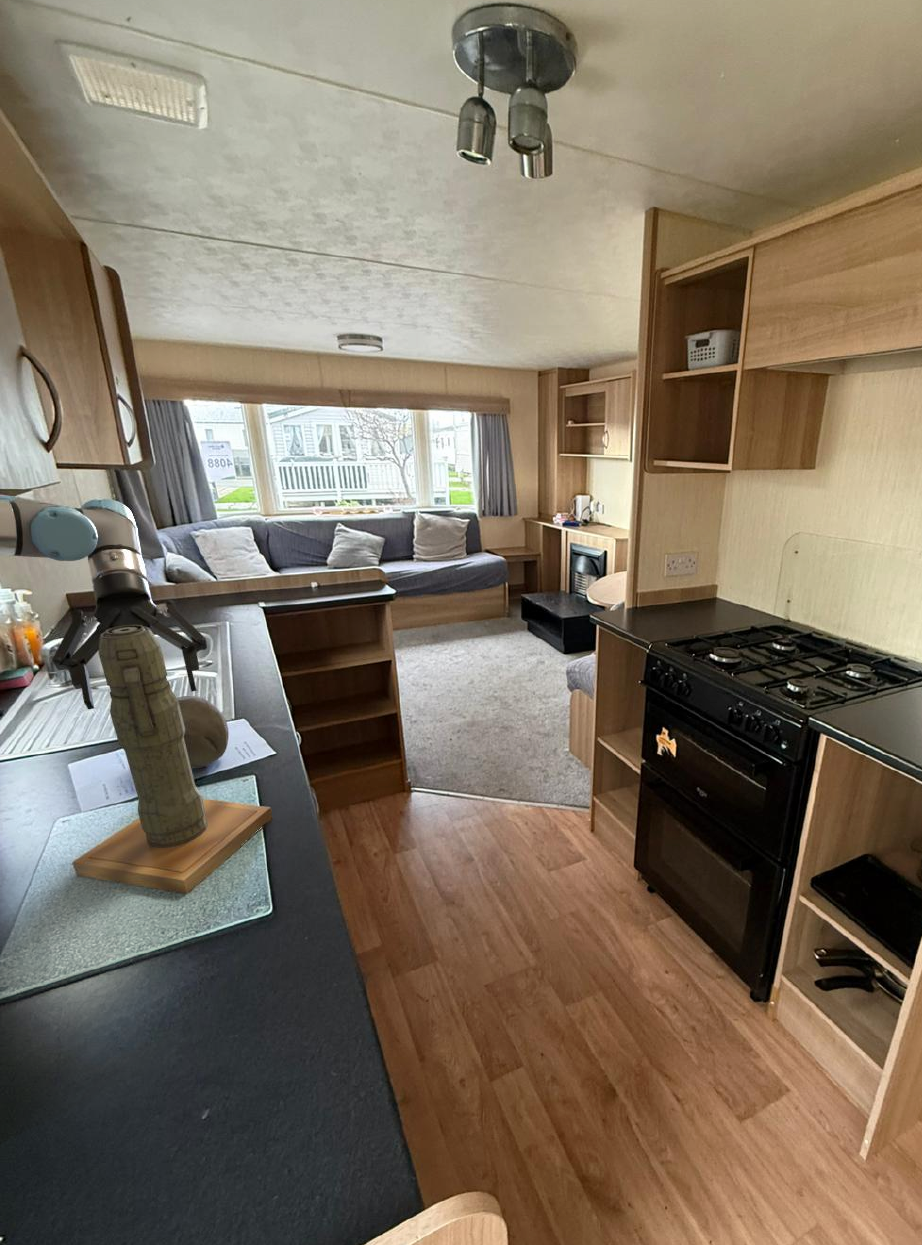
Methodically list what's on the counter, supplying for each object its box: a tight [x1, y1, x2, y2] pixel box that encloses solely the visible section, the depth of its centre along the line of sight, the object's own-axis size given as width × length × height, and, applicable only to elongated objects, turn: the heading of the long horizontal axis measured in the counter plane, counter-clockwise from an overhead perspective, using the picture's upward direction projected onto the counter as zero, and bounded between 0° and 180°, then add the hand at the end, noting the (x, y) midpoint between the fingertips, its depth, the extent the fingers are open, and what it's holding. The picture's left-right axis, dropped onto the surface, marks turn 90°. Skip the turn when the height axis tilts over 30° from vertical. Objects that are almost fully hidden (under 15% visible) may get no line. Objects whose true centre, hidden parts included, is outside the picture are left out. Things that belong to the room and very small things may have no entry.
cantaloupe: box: [177, 695, 230, 769], centre depth 125 cm, size 14×14×15 cm
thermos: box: [98, 625, 208, 848], centre depth 95 cm, size 9×12×35 cm
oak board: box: [72, 797, 273, 894], centre depth 102 cm, size 20×20×3 cm
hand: (143, 696), depth 95 cm, fingers open, 13 cm apart
